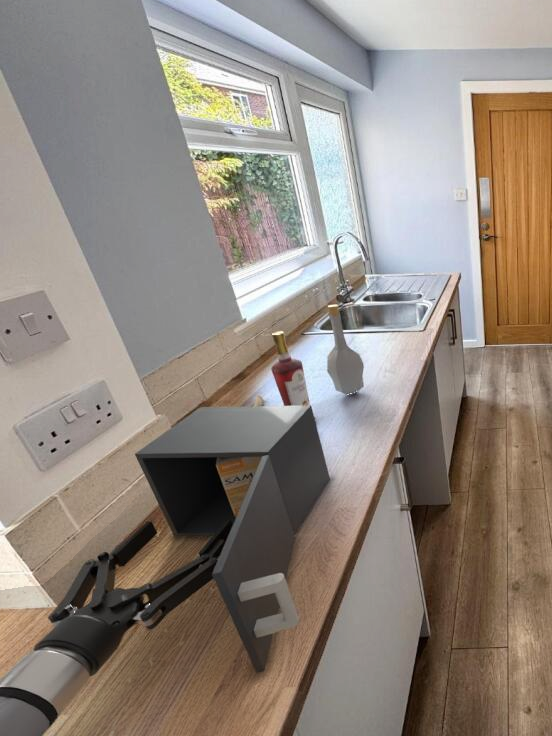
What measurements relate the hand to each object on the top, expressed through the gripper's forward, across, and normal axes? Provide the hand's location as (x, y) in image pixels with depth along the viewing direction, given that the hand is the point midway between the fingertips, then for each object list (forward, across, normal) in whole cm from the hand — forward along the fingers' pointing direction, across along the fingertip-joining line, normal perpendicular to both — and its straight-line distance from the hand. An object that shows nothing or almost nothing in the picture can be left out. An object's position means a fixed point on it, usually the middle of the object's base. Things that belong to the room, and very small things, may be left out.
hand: (191, 526), depth 69 cm
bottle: (+63, +1, -10) cm, 64 cm away
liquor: (+46, -6, -10) cm, 47 cm away
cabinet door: (-5, +18, -10) cm, 21 cm away
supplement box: (+15, 0, -9) cm, 17 cm away
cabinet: (+15, 0, -10) cm, 18 cm away
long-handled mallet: (+46, -20, -10) cm, 51 cm away
